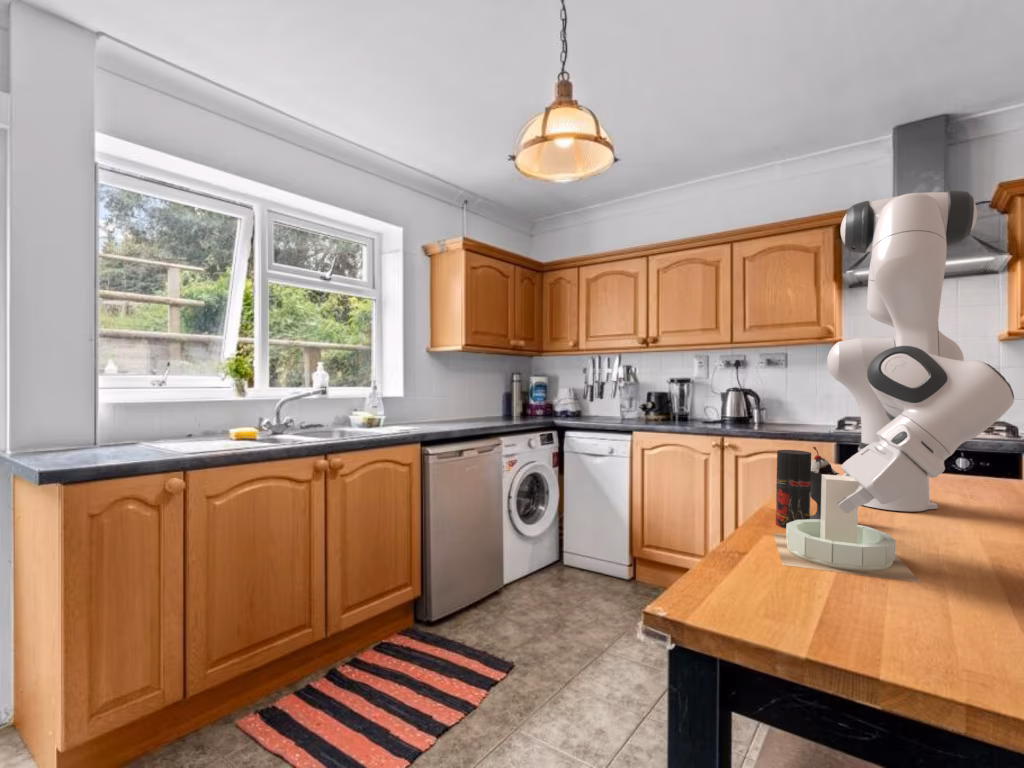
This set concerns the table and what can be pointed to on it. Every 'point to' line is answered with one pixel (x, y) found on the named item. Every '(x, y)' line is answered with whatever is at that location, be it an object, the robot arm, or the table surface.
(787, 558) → the cork mat
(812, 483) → the sundae
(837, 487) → the tall white box
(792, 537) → the bowl
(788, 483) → the deodorant
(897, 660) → the table surface
